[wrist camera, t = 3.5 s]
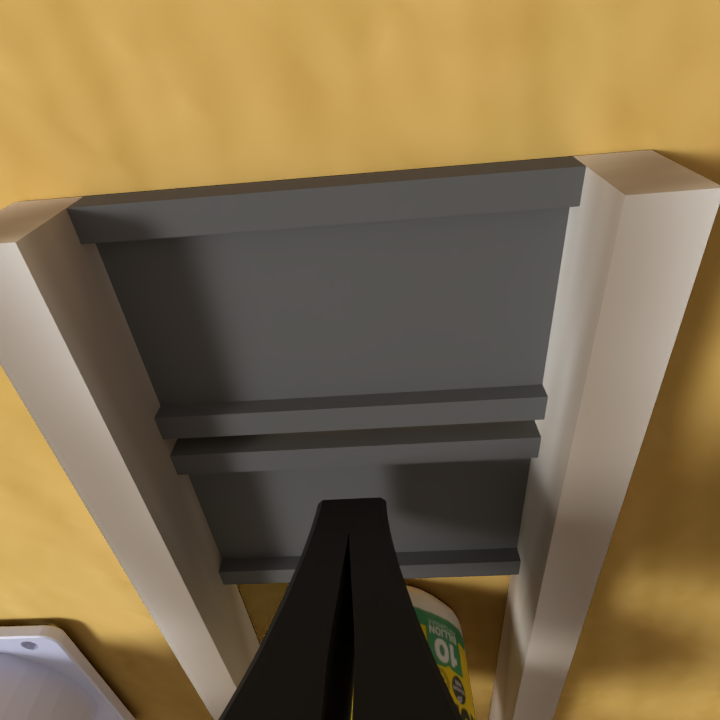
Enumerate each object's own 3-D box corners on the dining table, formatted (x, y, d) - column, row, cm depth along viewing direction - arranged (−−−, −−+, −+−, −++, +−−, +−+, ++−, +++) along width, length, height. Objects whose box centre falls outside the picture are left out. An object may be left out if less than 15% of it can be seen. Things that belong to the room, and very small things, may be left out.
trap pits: (228, 565, 14) (223, 584, 14) (83, 196, 8) (66, 208, 8) (513, 554, 14) (518, 574, 14) (573, 155, 8) (585, 166, 8)
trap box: (294, 792, 26) (286, 875, 23) (14, 201, 9) (-128, 281, 6) (502, 790, 25) (517, 875, 23) (651, 150, 8) (778, 215, 5)
